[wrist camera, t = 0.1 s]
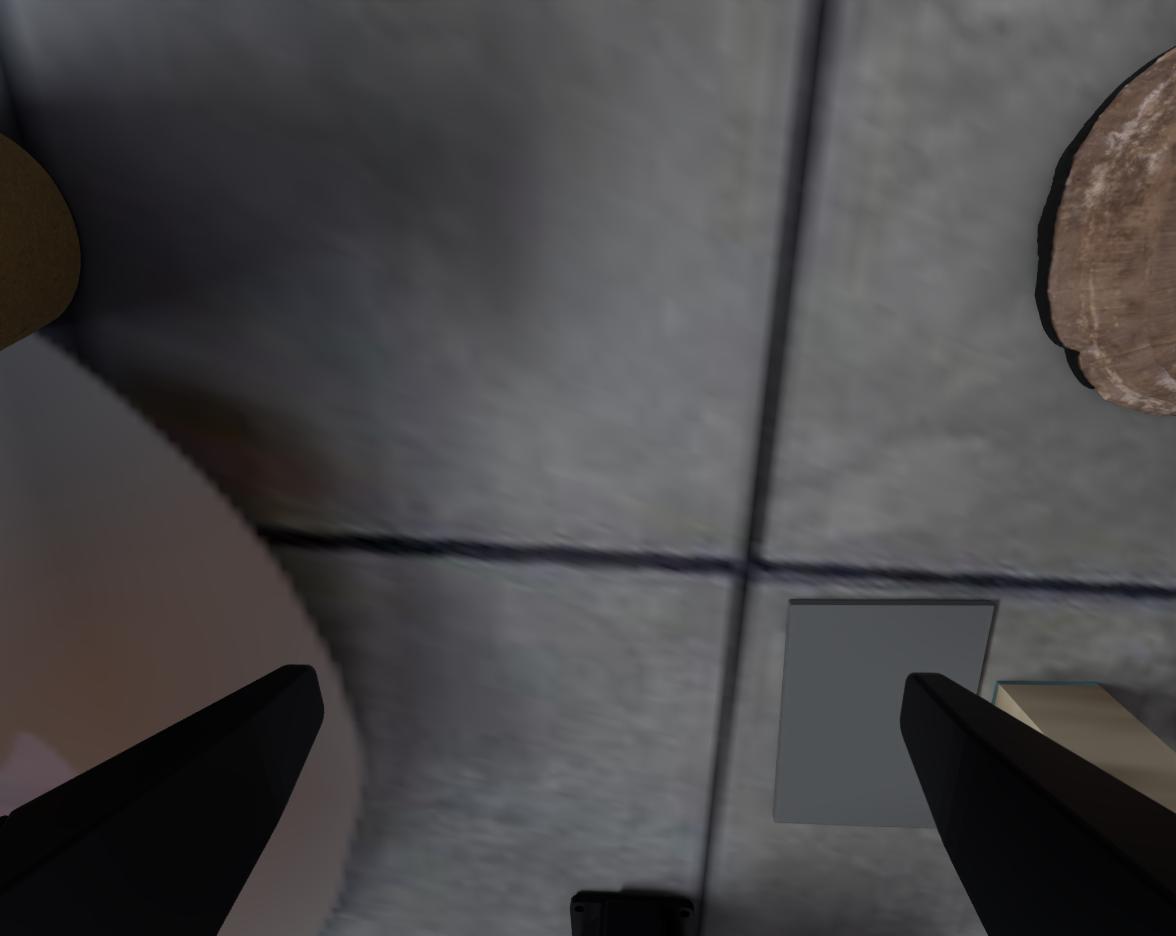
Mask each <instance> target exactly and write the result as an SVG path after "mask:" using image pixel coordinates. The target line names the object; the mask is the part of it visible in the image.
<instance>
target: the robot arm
mask: <svg viewBox="0 0 1176 936" xmlns="http://www.w3.org/2000/svg"><path fill="white" fill-rule="evenodd" d="M323 718H324V704H323V699H322V695H321V691H320V686H319V682H318V678H317V674H316V671H315V669H314V668H313V667H312V666H310V665H292V664H291V665H284V666H282V667H280V668H279V669H277V670H275V671H273V672H271V673H269V674H267V675H265V676H264V677H262V678H260V679H258V680H256V681H254V682H252V683H250V684H249V685H247V686H245V687H243V688H241V689H239V690H237V691H236V692H233V693H232V694H230V695H228V696H226V697H224V698H223V699H221V700H219V701H217V702H215V703H213V704H211V705H209V706H207V707H205V708H204V709H202V710H200V711H198V712H196V713H194V714H192V715H190V716H189V717H187V718H185V719H183V720H181V721H179V722H177V723H175V724H174V725H172V726H170V727H168V728H166V729H165V730H162V731H161V732H159V733H157V734H155V735H153V736H151V737H149V738H147V739H146V740H144V741H142V742H140V743H138V744H136V745H134V746H132V747H131V748H129V749H127V750H125V751H123V752H121V753H119V754H117V755H116V756H114V757H112V758H110V759H108V760H107V761H105V762H103V763H101V764H99V765H97V766H95V767H93V768H91V769H89V770H88V771H86V772H84V773H82V774H80V775H78V776H76V777H74V778H73V779H71V780H69V781H67V782H65V783H63V784H61V785H59V786H58V787H56V788H54V789H52V790H50V791H48V792H46V793H44V794H43V795H41V796H39V797H37V798H35V799H33V800H31V801H30V802H28V803H26V804H24V805H22V806H20V807H18V808H16V809H15V810H13V811H12V812H11V813H10V814H9V816H7V815H4V816H1V817H0V936H217V934H218V931H219V930H220V928H221V926H222V925H223V923H224V921H225V919H226V917H227V916H228V914H229V912H230V910H231V908H232V906H233V905H234V903H235V901H236V899H237V897H238V896H239V894H240V892H241V890H242V888H243V886H244V885H245V883H246V881H247V879H248V877H249V875H250V874H251V872H252V870H253V868H254V866H255V865H256V863H257V861H258V859H259V857H260V855H261V854H262V852H263V850H264V848H265V846H266V844H267V843H268V841H269V839H270V837H271V835H272V833H273V831H274V829H275V828H276V826H277V824H278V822H279V820H280V818H281V816H282V814H283V811H284V809H285V807H286V805H287V803H288V801H289V798H290V796H291V794H292V791H293V789H294V787H295V785H296V782H297V780H298V777H299V775H300V773H301V771H302V768H303V766H304V764H305V762H306V759H307V757H308V755H309V752H310V750H311V747H312V745H313V743H314V741H315V739H316V736H317V734H318V732H319V729H320V727H321V724H322V722H323ZM900 730H901V734H902V737H903V740H904V742H905V745H906V748H907V750H908V753H909V756H910V758H911V761H912V764H913V766H914V769H915V772H916V774H917V777H918V779H919V782H920V785H921V787H922V790H923V793H924V795H925V798H926V801H927V803H928V806H929V809H930V811H931V814H932V817H933V819H934V822H935V824H936V827H937V829H938V832H939V834H940V837H941V839H942V842H943V844H944V846H945V849H946V851H947V853H948V855H949V857H950V859H951V861H952V864H953V866H954V868H955V870H956V872H957V874H958V876H959V878H960V880H961V882H962V884H963V886H964V888H965V890H966V892H967V894H968V896H969V898H970V900H971V902H972V904H973V906H974V908H975V910H976V912H977V914H978V916H979V918H980V920H981V922H982V924H983V926H984V928H985V930H986V932H987V934H988V936H1176V813H1175V812H1173V811H1171V810H1170V809H1168V808H1166V807H1165V806H1163V805H1161V804H1160V803H1158V802H1156V801H1155V800H1153V799H1151V798H1149V797H1148V796H1146V795H1144V794H1143V793H1141V792H1139V791H1138V790H1136V789H1134V788H1133V787H1131V786H1129V785H1128V784H1126V783H1124V782H1123V781H1121V780H1119V779H1118V778H1116V777H1114V776H1113V775H1111V774H1109V773H1107V772H1106V771H1104V770H1102V769H1101V768H1099V767H1097V766H1096V765H1094V764H1092V763H1091V762H1089V761H1087V760H1086V759H1084V758H1082V757H1081V756H1079V755H1077V754H1076V753H1074V752H1072V751H1071V750H1069V749H1067V748H1065V747H1064V746H1062V745H1060V744H1059V743H1057V742H1055V741H1054V740H1052V739H1050V738H1049V737H1047V736H1045V735H1044V734H1042V733H1040V732H1039V731H1037V730H1035V729H1034V728H1032V727H1030V726H1028V725H1027V724H1025V723H1023V722H1022V721H1020V720H1018V719H1017V718H1015V717H1013V716H1012V715H1010V714H1008V713H1007V712H1005V711H1003V710H1002V709H1000V708H998V707H997V706H995V705H993V704H992V703H990V702H988V701H986V700H985V699H983V698H981V697H980V696H978V695H976V694H975V693H973V692H971V691H970V690H968V689H966V688H965V687H963V686H961V685H960V684H958V683H956V682H955V681H953V680H951V679H950V678H948V677H946V676H944V675H943V674H940V673H935V672H913V673H911V674H909V675H908V676H907V678H906V681H905V686H904V693H903V699H902V706H901V713H900ZM570 914H571V927H572V936H694V919H695V914H694V905H693V903H692V902H691V901H689V900H685V899H666V898H645V897H624V896H603V895H582V894H579V895H574V896H573V897H572V898H571V904H570Z"/></svg>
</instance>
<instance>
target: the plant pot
mask: <svg viewBox="0 0 1176 936" xmlns="http://www.w3.org/2000/svg"><path fill="white" fill-rule="evenodd" d="M80 268H81V253H80V246H79V239H78V235H77V231H76V227H75V223H74V221H73V218H72V215H71V212H70V210H69V208H68V206H67V204H66V202H65V200H64V198H63V196H62V195H61V193H60V191H59V190H58V188H57V186H56V185H55V183H54V181H53V180H52V178H51V177H50V175H49V174H48V173H47V172H46V171H45V170H44V169H43V168H42V166H41V165H40V164H39V163H38V162H37V161H36V160H35V159H34V158H33V157H32V156H31V155H30V154H29V153H28V152H26V151H25V150H24V149H23V148H21V147H20V146H19V145H18V144H16V143H15V142H14V141H12V140H11V139H9V138H8V137H6V136H4V135H3V134H1V133H0V351H1V350H3V349H4V348H6V347H8V346H10V345H12V344H14V343H16V342H17V341H19V340H21V339H23V338H25V337H26V336H28V335H30V334H32V333H33V332H35V331H37V330H39V329H40V328H42V327H44V326H46V325H47V324H49V323H51V322H52V321H54V320H55V319H56V318H58V317H59V316H60V315H61V314H62V313H63V312H64V311H65V310H66V308H67V307H68V305H69V304H70V302H71V301H72V298H73V296H74V294H75V291H76V289H77V286H78V281H79V275H80Z"/></svg>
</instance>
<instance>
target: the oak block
mask: <svg viewBox="0 0 1176 936" xmlns="http://www.w3.org/2000/svg"><path fill="white" fill-rule="evenodd" d="M992 704H993V705H995V706H997V707H998V708H1000V709H1002V710H1003V711H1005V712H1007V713H1008V714H1010V715H1012V716H1013V717H1015V718H1017V719H1018V720H1020V721H1022V722H1023V723H1025V724H1027V725H1028V726H1030V727H1032V728H1034V729H1035V730H1037V731H1039V732H1040V733H1042V734H1044V735H1045V736H1047V737H1049V738H1050V739H1052V740H1054V741H1055V742H1057V743H1059V744H1060V745H1062V746H1064V747H1065V748H1067V749H1069V750H1071V751H1072V752H1074V753H1076V754H1077V755H1079V756H1081V757H1082V758H1084V759H1086V760H1087V761H1089V762H1091V763H1092V764H1094V765H1096V766H1097V767H1099V768H1101V769H1102V770H1104V771H1106V772H1107V773H1109V774H1111V775H1113V776H1114V777H1116V778H1118V779H1119V780H1121V781H1123V782H1124V783H1126V784H1128V785H1129V786H1131V787H1133V788H1134V789H1136V790H1138V791H1139V792H1141V793H1143V794H1144V795H1146V796H1148V797H1149V798H1151V799H1153V800H1155V801H1156V802H1158V803H1160V804H1161V805H1163V806H1165V807H1166V808H1168V809H1170V810H1171V811H1173V812H1175V813H1176V752H1174V751H1173V750H1172V749H1171V748H1170V747H1169V746H1168V745H1166V744H1165V743H1164V742H1163V741H1162V740H1161V739H1160V738H1159V737H1157V736H1156V735H1155V734H1154V733H1153V732H1152V731H1151V730H1149V729H1148V728H1147V727H1146V726H1145V725H1144V724H1143V723H1141V722H1140V721H1139V720H1138V719H1137V718H1136V717H1135V716H1134V715H1132V714H1131V713H1130V712H1129V711H1128V710H1127V709H1126V708H1124V707H1123V706H1122V705H1121V704H1120V703H1119V702H1118V701H1116V700H1115V699H1114V698H1113V697H1112V696H1111V695H1110V694H1109V693H1107V692H1106V691H1105V690H1104V689H1103V688H1102V687H1101V686H1099V685H1098V684H1097V683H1089V682H1017V681H997V682H996V686H995V691H994V696H993V700H992Z"/></svg>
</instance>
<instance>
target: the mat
mask: <svg viewBox="0 0 1176 936" xmlns="http://www.w3.org/2000/svg"><path fill="white" fill-rule="evenodd" d="M993 610H994V605H993V604H992V603H991V602H990V601H989V600H789V603H788V616H787V630H786V643H785V657H784V670H783V684H782V697H781V711H780V725H779V738H778V752H777V765H776V779H775V792H774V806H773V818H774V822H775V823H796V824H824V825H852V826H880V827H908V828H937V827H936V824H935V822H934V819H933V817H932V814H931V811H930V809H929V806H928V803H927V801H926V798H925V795H924V793H923V790H922V787H921V785H920V782H919V779H918V777H917V774H916V772H915V769H914V766H913V764H912V761H911V758H910V756H909V753H908V750H907V748H906V745H905V742H904V740H903V737H902V734H901V730H900V713H901V706H902V699H903V693H904V686H905V681H906V678H907V676H908V675H909V674H911V673H913V672H935V673H940V674H943V675H944V676H946V677H948V678H950V679H951V680H953V681H955V682H956V683H958V684H960V685H961V686H963V687H965V688H966V689H968V690H970V691H971V692H973V693H975V694H977V689H978V685H979V680H980V675H981V670H982V665H983V660H984V655H985V650H986V645H987V640H988V635H989V630H990V625H991V620H992V615H993Z"/></svg>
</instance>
